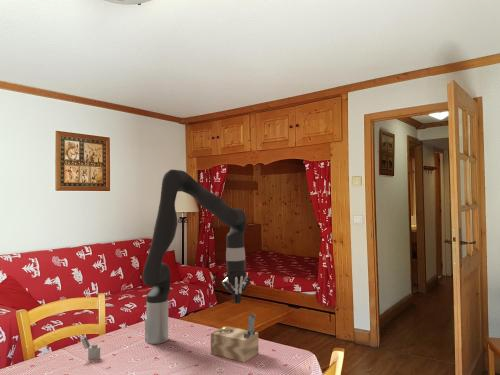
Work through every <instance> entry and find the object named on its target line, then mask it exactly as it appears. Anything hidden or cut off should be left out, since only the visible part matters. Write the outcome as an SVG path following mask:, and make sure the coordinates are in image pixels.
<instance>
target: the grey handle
mask: <svg viewBox="0 0 500 375" xmlns="http://www.w3.org/2000/svg"><path fill="white" fill-rule="evenodd" d="M256 318H257V315H256V313H252V314H249V315H248V317H247V319H248V325H247V330H248V334H249V336H251V335H253V332H254V330H255V320H256Z"/></svg>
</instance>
